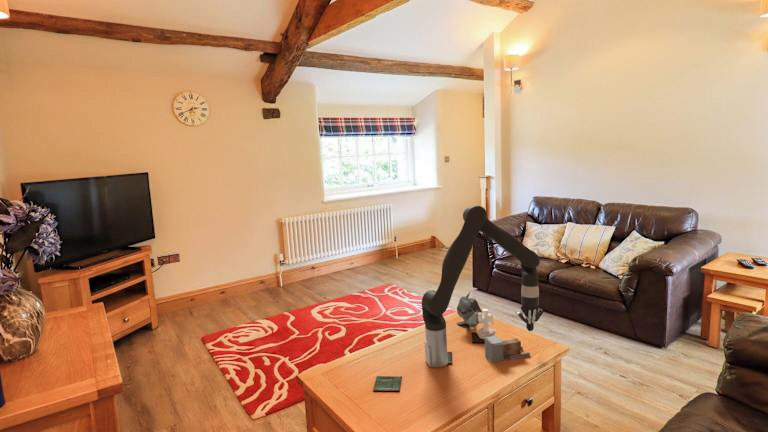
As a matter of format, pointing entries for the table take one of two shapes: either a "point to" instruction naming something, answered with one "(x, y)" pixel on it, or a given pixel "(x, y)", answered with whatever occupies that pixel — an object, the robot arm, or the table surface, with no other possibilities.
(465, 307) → the narwhal figurine
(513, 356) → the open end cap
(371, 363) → the table surface
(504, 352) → the walnut slat
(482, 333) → the figurine
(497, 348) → the socket end cap
